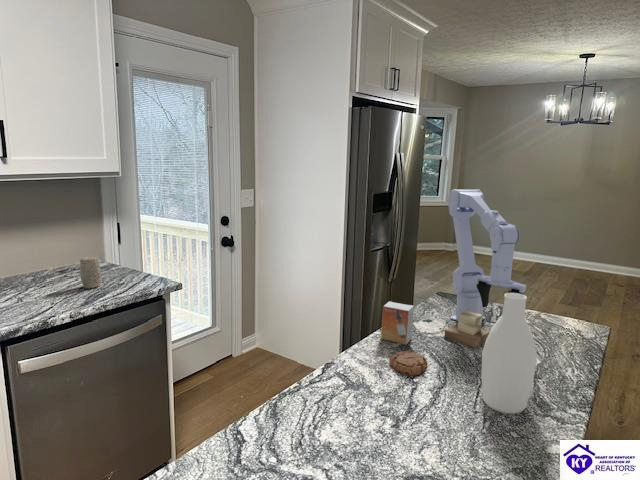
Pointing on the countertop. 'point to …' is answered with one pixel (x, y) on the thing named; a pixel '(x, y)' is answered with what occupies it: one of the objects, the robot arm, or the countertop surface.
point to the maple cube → (469, 322)
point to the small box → (397, 322)
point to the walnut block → (467, 336)
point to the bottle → (509, 359)
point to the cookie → (408, 363)
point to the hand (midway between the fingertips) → (497, 309)
